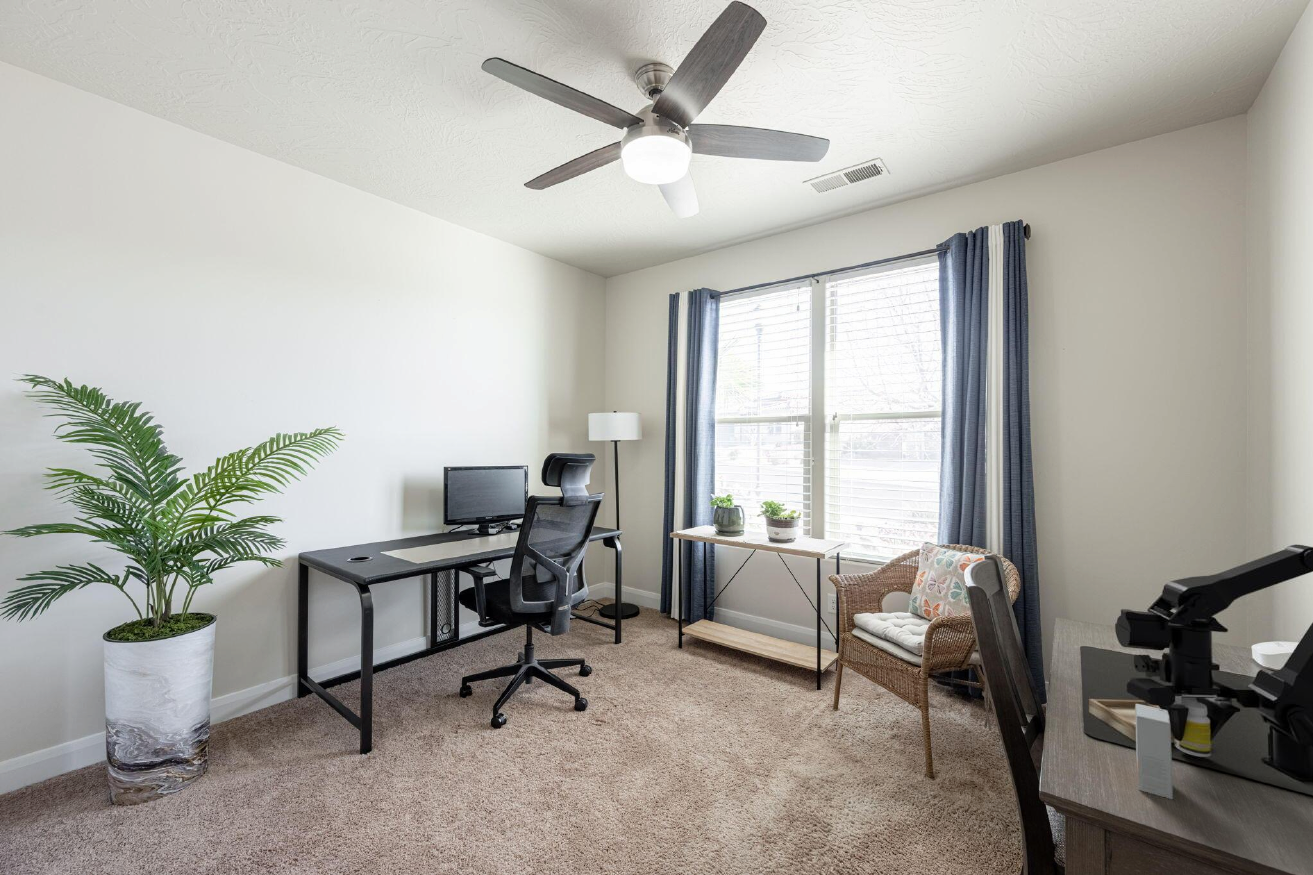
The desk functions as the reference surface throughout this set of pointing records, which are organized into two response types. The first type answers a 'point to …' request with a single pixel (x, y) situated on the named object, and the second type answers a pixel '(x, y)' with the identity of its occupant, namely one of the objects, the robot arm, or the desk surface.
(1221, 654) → the desk surface
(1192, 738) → the supplement bottle
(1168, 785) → the skincare box
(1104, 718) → the wooden tray
